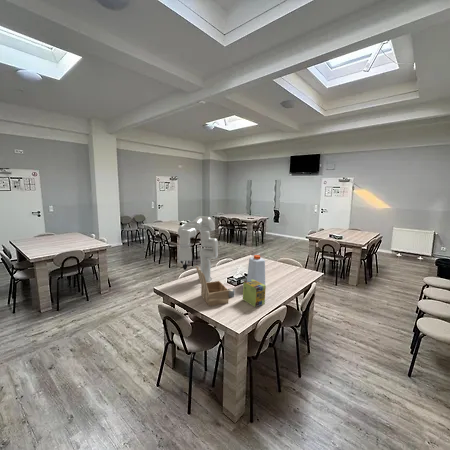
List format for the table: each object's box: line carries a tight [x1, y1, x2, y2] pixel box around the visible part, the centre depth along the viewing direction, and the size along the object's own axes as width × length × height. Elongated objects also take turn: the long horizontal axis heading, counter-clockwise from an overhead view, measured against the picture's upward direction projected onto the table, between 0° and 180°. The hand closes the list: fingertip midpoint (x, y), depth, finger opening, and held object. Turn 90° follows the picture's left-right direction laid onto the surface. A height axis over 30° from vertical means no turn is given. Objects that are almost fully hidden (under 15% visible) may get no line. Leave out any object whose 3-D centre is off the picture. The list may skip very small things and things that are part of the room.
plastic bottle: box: [246, 254, 266, 285], centre depth 223 cm, size 15×15×28 cm
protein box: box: [242, 279, 266, 308], centre depth 191 cm, size 10×15×16 cm
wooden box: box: [200, 280, 229, 307], centre depth 194 cm, size 20×16×11 cm
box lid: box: [195, 266, 209, 294], centre depth 188 cm, size 20×16×1 cm
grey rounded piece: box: [227, 288, 236, 298], centre depth 201 cm, size 6×6×5 cm
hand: (184, 269), depth 180 cm, fingers closed
